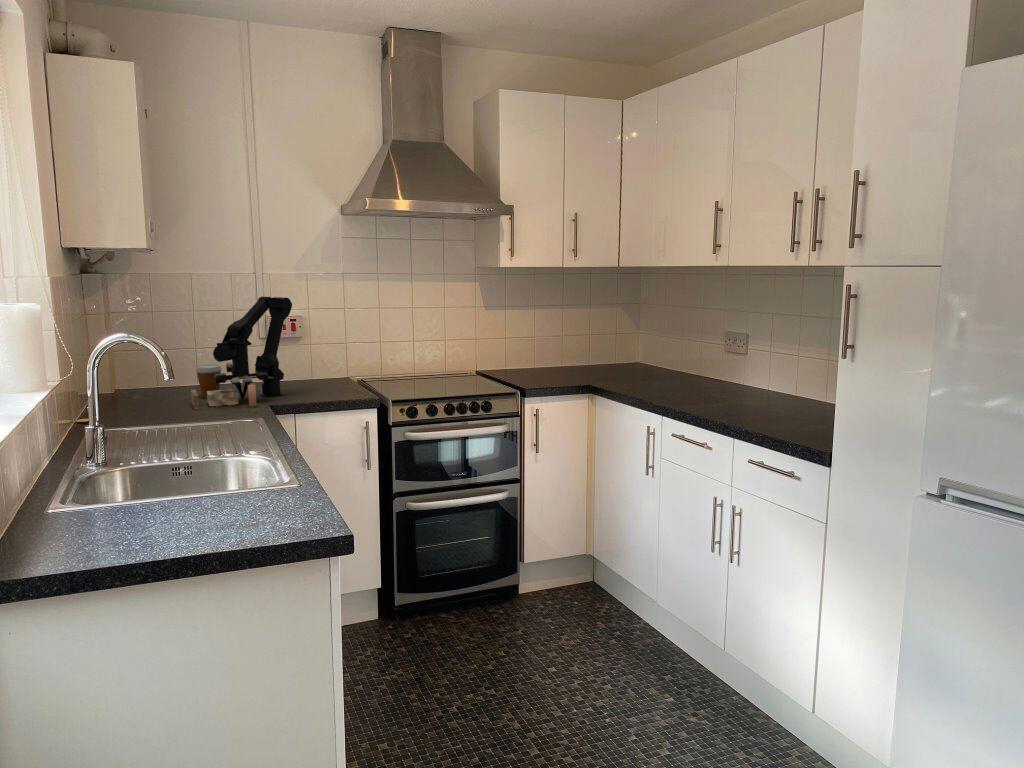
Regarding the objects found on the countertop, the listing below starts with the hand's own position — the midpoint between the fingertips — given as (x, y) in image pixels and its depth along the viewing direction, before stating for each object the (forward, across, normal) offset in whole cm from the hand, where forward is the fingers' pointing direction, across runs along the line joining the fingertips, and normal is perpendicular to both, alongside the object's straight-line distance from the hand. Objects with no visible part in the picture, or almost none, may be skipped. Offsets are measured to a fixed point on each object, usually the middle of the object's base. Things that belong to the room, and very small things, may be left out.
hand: (242, 399), depth 285 cm
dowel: (+1, -2, +10) cm, 10 cm away
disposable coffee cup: (+1, +10, -17) cm, 20 cm away
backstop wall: (+1, +16, 0) cm, 17 cm away
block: (+1, +7, 0) cm, 7 cm away
